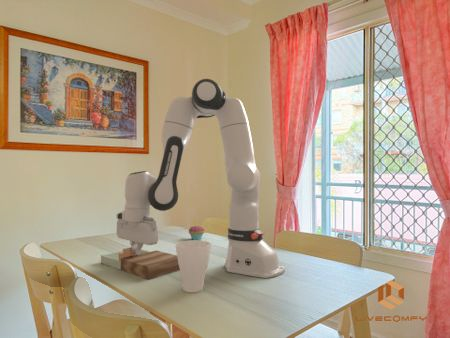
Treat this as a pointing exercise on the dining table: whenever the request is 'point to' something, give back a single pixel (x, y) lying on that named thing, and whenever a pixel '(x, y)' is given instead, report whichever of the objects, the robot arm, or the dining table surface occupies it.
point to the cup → (193, 263)
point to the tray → (114, 259)
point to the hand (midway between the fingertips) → (136, 253)
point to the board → (150, 264)
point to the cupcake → (196, 232)
